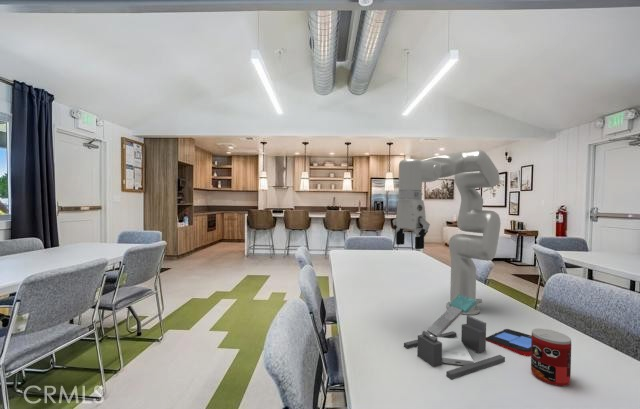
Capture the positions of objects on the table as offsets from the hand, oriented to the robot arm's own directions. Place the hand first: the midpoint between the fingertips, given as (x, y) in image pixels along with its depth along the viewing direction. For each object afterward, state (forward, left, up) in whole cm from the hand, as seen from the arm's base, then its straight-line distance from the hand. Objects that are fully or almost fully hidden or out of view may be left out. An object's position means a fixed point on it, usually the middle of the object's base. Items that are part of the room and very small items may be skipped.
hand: (409, 246), depth 96 cm
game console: (-28, +19, -30) cm, 45 cm away
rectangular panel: (-1, +16, -19) cm, 25 cm away
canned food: (-17, +34, -30) cm, 48 cm away
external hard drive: (-3, +16, -30) cm, 33 cm away
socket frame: (-3, +16, -30) cm, 33 cm away
